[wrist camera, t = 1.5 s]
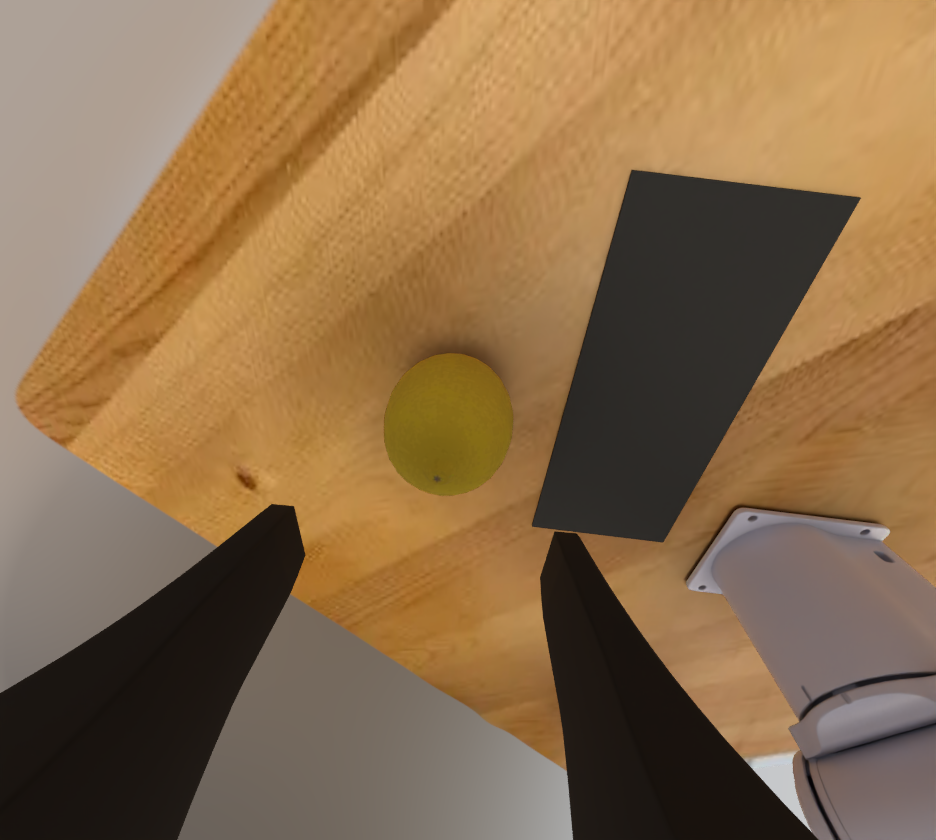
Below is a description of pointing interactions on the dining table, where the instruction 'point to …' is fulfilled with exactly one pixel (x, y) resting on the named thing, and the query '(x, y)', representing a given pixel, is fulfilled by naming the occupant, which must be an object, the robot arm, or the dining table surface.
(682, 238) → the mat
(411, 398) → the lemon
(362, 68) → the dining table surface
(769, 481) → the dining table surface
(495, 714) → the dining table surface
